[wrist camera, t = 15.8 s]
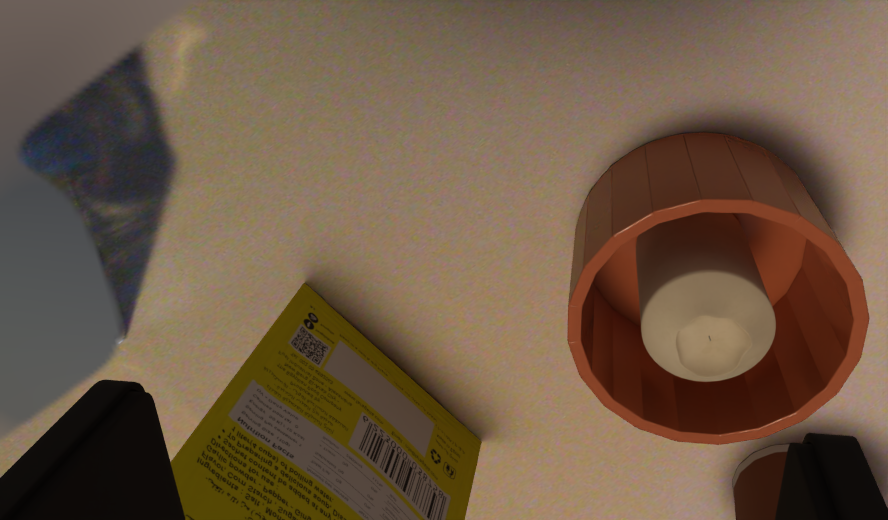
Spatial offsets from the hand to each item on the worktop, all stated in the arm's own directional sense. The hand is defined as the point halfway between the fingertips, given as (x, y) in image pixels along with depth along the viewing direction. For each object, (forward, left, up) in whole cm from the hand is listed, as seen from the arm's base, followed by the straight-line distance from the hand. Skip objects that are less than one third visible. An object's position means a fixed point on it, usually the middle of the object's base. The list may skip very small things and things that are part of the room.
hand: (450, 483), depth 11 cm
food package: (-10, -19, -31) cm, 37 cm away
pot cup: (+7, -10, -30) cm, 33 cm away
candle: (+7, -10, -30) cm, 32 cm away
